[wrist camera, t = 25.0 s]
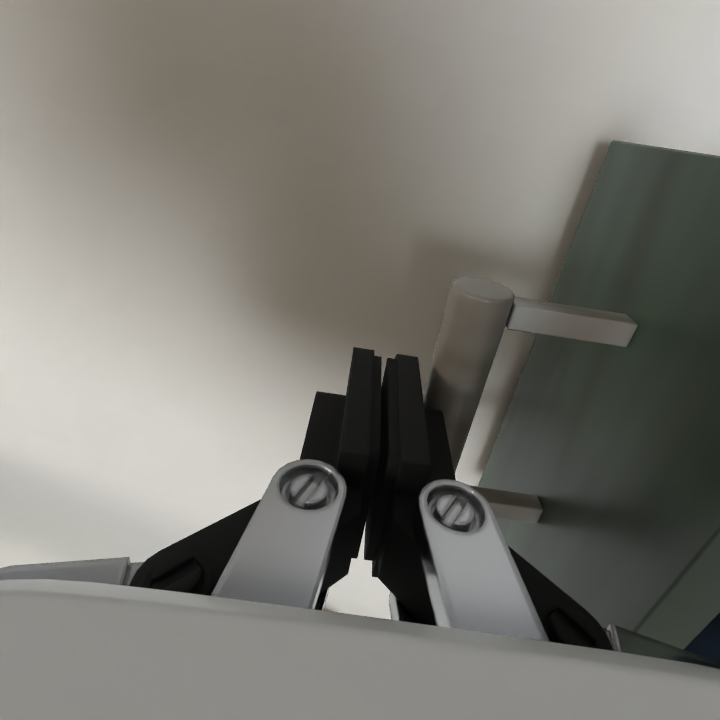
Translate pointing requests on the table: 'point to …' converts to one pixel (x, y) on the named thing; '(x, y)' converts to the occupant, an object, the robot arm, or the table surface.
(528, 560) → the drawer
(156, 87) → the table surface
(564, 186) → the table surface
